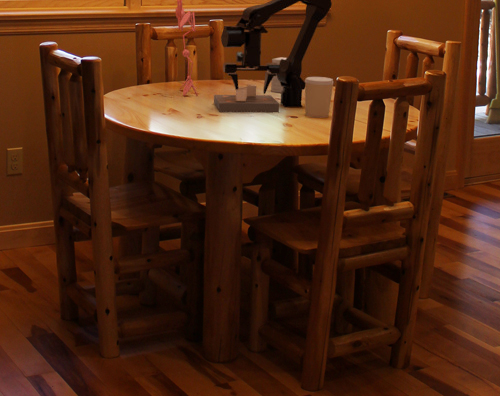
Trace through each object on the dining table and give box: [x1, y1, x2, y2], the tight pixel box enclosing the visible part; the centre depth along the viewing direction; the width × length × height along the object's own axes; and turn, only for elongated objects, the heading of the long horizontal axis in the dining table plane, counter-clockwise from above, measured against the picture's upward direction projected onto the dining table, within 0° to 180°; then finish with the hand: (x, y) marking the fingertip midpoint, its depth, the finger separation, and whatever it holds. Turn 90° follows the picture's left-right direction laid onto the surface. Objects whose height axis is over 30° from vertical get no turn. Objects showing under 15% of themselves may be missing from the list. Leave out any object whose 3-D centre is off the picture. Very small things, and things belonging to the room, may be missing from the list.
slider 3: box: [246, 84, 257, 96], centre depth 243 cm, size 3×2×4 cm
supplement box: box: [270, 56, 288, 94], centre depth 272 cm, size 7×7×13 cm
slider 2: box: [235, 89, 246, 101], centre depth 234 cm, size 3×2×4 cm
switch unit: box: [213, 94, 280, 113], centre depth 240 cm, size 20×15×3 cm
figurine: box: [161, 0, 199, 98], centre depth 256 cm, size 15×26×35 cm, turn 8°
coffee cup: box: [304, 76, 335, 119], centre depth 231 cm, size 9×9×12 cm
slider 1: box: [238, 86, 247, 99], centre depth 238 cm, size 3×2×4 cm
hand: (250, 93), depth 239 cm, fingers open, 9 cm apart
